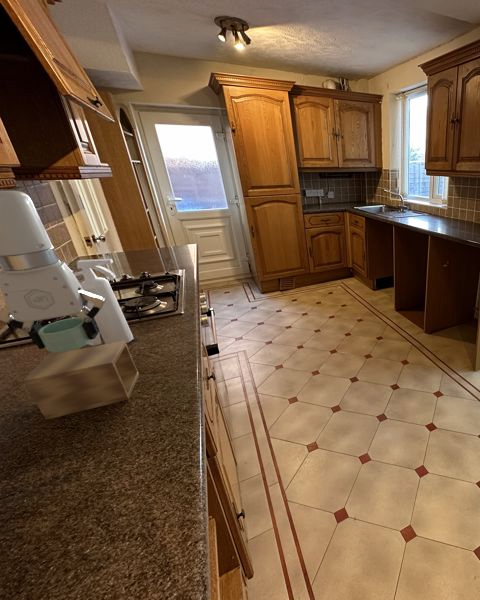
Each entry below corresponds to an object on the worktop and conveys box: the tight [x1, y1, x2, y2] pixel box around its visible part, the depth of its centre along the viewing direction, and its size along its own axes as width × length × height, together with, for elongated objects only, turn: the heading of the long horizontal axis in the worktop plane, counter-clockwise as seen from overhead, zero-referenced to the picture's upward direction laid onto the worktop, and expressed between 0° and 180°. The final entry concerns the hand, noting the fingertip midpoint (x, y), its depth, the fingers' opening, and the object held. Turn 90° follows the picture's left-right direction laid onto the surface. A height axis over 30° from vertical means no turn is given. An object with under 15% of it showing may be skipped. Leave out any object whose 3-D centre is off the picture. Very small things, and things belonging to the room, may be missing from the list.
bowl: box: [38, 317, 91, 354], centre depth 67 cm, size 7×7×5 cm
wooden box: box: [22, 341, 140, 420], centre depth 72 cm, size 14×10×10 cm
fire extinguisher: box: [73, 258, 134, 347], centre depth 90 cm, size 7×12×25 cm, turn 118°
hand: (70, 340), depth 68 cm, fingers closed on bowl, 7 cm apart
